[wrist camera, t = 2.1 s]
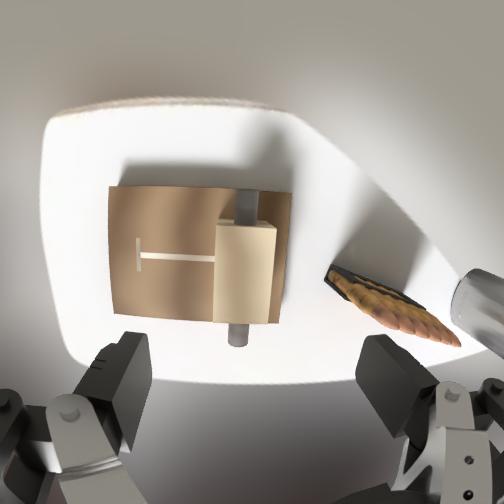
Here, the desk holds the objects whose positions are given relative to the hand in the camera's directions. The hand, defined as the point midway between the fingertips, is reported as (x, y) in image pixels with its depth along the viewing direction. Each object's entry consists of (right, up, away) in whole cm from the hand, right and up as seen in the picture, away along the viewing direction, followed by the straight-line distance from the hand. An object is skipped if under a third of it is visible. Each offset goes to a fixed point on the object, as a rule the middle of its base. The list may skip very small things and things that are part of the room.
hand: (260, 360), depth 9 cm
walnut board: (-6, +4, +16) cm, 17 cm away
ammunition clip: (+12, 0, +19) cm, 22 cm away
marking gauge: (-1, +3, +14) cm, 15 cm away
